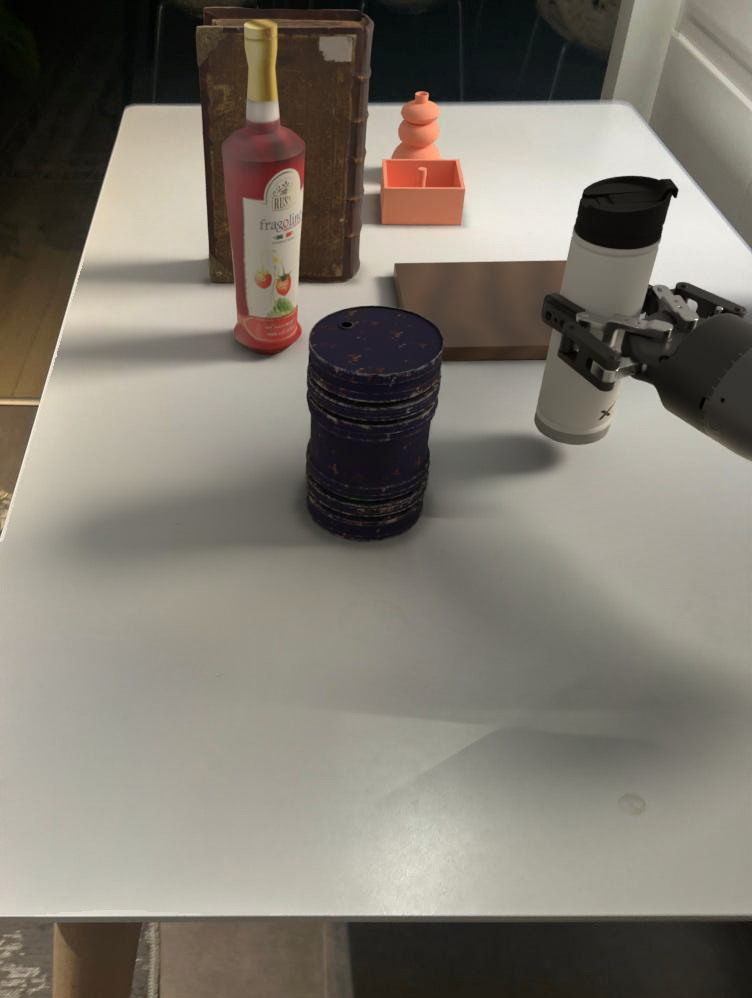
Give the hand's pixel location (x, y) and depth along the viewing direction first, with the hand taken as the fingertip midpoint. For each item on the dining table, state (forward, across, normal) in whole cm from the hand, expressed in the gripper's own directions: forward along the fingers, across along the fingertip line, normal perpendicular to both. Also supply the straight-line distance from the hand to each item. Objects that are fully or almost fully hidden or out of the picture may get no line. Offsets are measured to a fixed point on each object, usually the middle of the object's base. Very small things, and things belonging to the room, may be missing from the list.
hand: (579, 293), depth 75 cm
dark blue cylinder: (+1, +19, +13) cm, 24 cm away
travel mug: (-2, 0, +11) cm, 11 cm away
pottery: (+49, -21, +14) cm, 55 cm away
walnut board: (+19, -10, +13) cm, 26 cm away
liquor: (+27, +13, +13) cm, 33 cm away
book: (+39, +4, +13) cm, 41 cm away
